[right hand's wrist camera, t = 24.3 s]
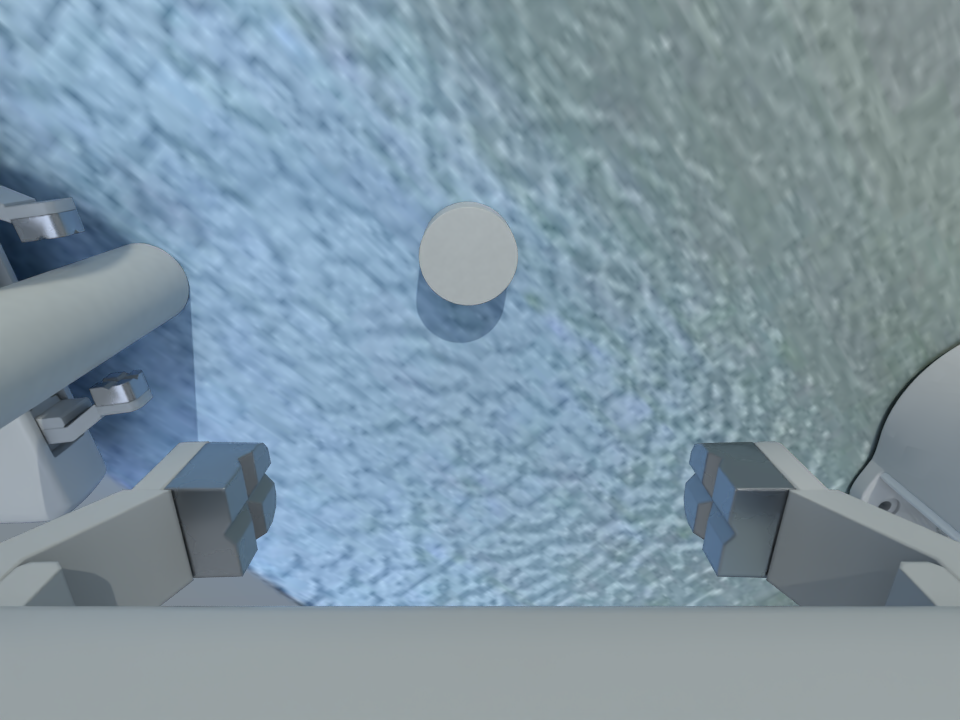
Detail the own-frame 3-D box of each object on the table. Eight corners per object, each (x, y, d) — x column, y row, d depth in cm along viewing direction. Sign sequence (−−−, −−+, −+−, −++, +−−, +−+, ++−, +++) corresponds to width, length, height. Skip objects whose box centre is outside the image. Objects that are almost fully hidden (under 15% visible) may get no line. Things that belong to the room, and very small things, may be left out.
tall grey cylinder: (118, 321, 30) (-421, 619, 12) (96, 243, 28) (-577, 450, 10) (196, 319, 30) (-214, 613, 12) (179, 242, 28) (-333, 445, 10)
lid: (530, 227, 29) (535, 235, 27) (488, 308, 30) (490, 320, 28) (445, 184, 28) (444, 188, 26) (407, 270, 29) (403, 280, 27)
